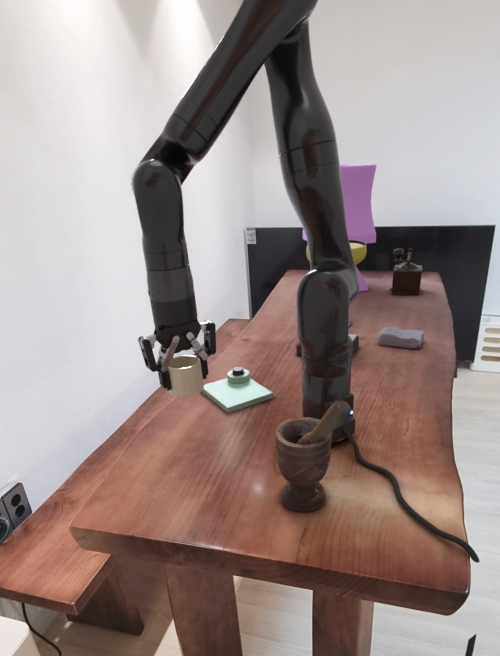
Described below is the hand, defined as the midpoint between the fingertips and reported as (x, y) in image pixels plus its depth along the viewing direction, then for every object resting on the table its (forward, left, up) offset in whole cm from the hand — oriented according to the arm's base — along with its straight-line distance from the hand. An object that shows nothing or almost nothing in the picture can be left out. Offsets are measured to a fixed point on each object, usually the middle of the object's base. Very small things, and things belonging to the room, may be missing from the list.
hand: (185, 383), depth 86 cm
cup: (0, 0, -1) cm, 1 cm away
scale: (+15, -18, -14) cm, 27 cm away
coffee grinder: (+48, -112, -14) cm, 123 cm away
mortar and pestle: (-26, -9, -14) cm, 31 cm away
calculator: (+22, -52, -14) cm, 58 cm away
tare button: (+19, -21, -11) cm, 31 cm away
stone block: (+14, -73, -14) cm, 76 cm away
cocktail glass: (+39, -69, -14) cm, 80 cm away
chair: (+74, -100, -14) cm, 125 cm away
